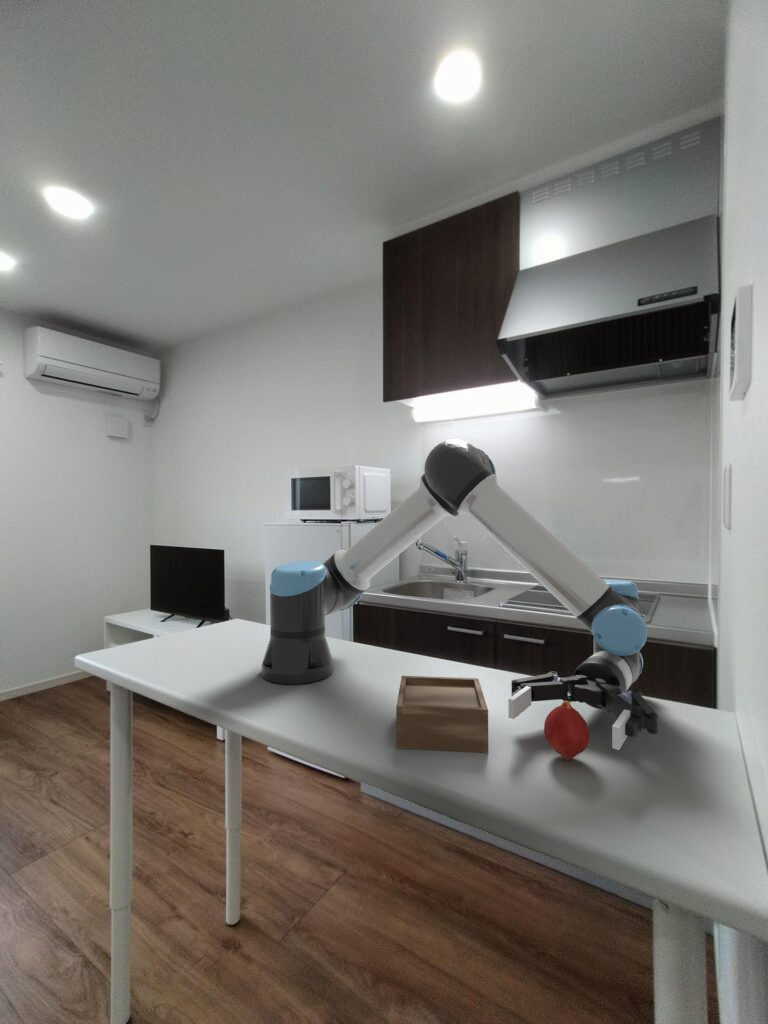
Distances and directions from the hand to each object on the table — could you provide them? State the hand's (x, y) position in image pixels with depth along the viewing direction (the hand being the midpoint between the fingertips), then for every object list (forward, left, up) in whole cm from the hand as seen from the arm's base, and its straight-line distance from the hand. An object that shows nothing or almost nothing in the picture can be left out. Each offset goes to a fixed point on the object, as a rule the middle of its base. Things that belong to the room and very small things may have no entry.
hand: (559, 722), depth 60 cm
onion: (-2, +2, -6) cm, 7 cm away
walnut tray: (-9, -15, -6) cm, 19 cm away
